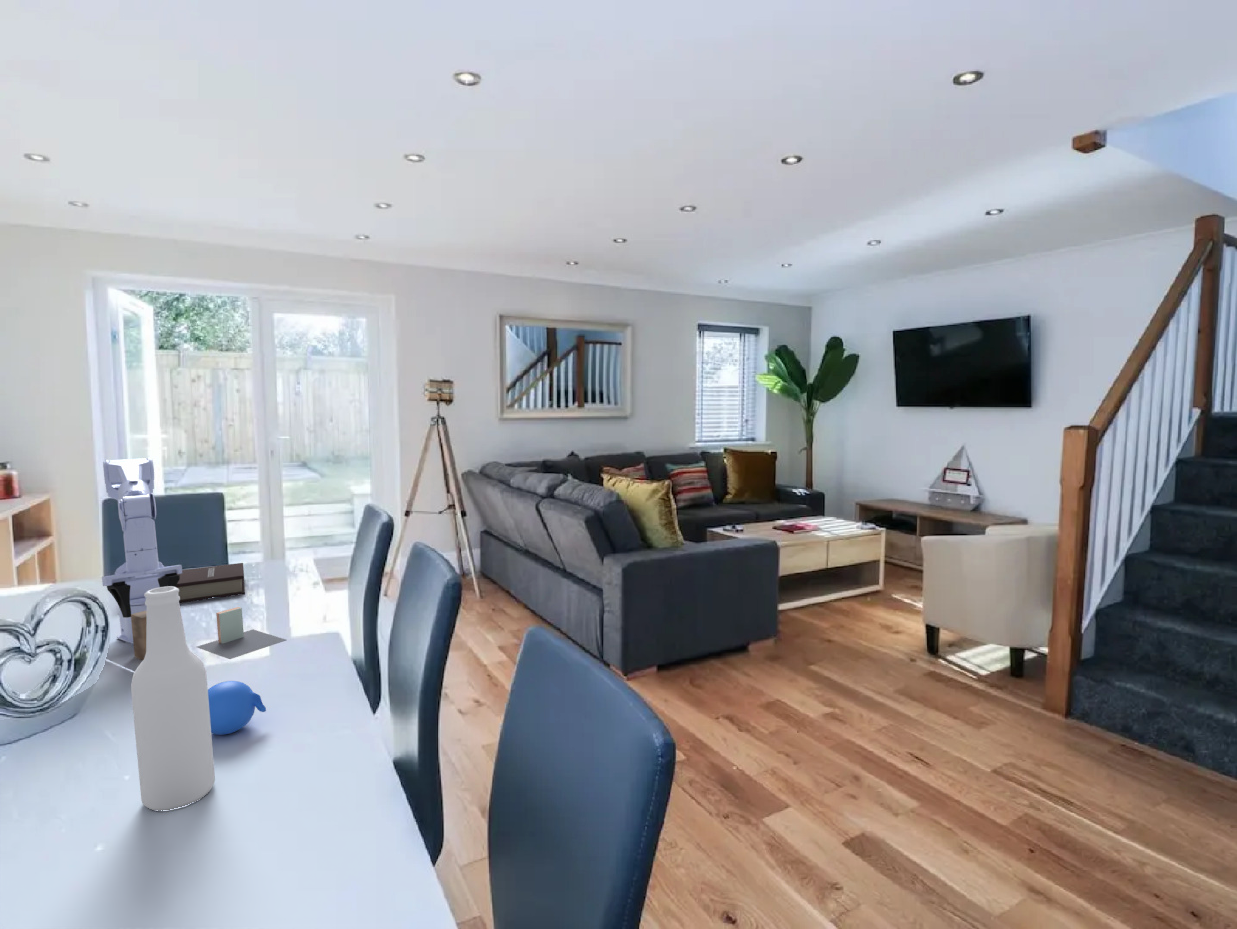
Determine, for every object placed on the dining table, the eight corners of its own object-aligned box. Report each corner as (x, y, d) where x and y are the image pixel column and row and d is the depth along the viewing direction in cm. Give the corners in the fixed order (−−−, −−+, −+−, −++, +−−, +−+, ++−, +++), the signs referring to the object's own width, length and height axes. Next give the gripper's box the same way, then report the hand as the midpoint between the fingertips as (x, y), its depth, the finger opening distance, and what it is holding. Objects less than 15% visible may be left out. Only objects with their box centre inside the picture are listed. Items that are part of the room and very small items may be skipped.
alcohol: (134, 820, 90) (113, 603, 87) (150, 786, 98) (131, 585, 95) (210, 804, 94) (193, 594, 91) (219, 772, 102) (203, 578, 99)
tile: (218, 642, 155) (216, 612, 154) (240, 635, 159) (238, 606, 158) (222, 643, 154) (219, 613, 153) (243, 636, 158) (241, 607, 158)
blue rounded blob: (281, 707, 123) (278, 662, 122) (258, 739, 111) (254, 691, 110) (209, 713, 121) (205, 668, 120) (178, 747, 109) (174, 697, 108)
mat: (196, 648, 152) (196, 646, 152) (253, 630, 163) (253, 629, 163) (229, 660, 145) (229, 658, 145) (287, 641, 156) (286, 639, 156)
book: (244, 579, 211) (242, 561, 211) (245, 595, 194) (243, 575, 194) (135, 593, 198) (133, 574, 197) (125, 612, 181) (124, 590, 180)
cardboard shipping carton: (134, 658, 147) (130, 614, 146) (150, 654, 149) (146, 610, 148) (145, 663, 144) (141, 618, 143) (161, 658, 147) (157, 614, 146)
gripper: (110, 555, 137) (116, 621, 137) (186, 544, 150) (192, 605, 150) (95, 556, 141) (101, 620, 141) (171, 545, 154) (176, 605, 153)
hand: (147, 613), depth 146 cm, fingers open, 7 cm apart
